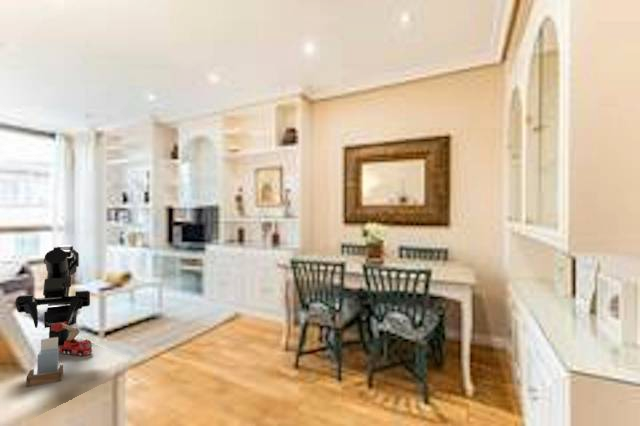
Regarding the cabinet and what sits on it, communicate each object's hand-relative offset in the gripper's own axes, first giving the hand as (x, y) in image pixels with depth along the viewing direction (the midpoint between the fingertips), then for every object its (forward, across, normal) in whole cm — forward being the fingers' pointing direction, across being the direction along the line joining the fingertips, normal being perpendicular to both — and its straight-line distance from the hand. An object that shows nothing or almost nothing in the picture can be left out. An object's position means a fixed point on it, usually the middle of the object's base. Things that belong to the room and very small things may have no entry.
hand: (52, 325), depth 110 cm
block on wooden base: (+12, 0, +5) cm, 13 cm away
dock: (+13, 0, +4) cm, 14 cm away
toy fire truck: (+2, +4, +16) cm, 16 cm away
